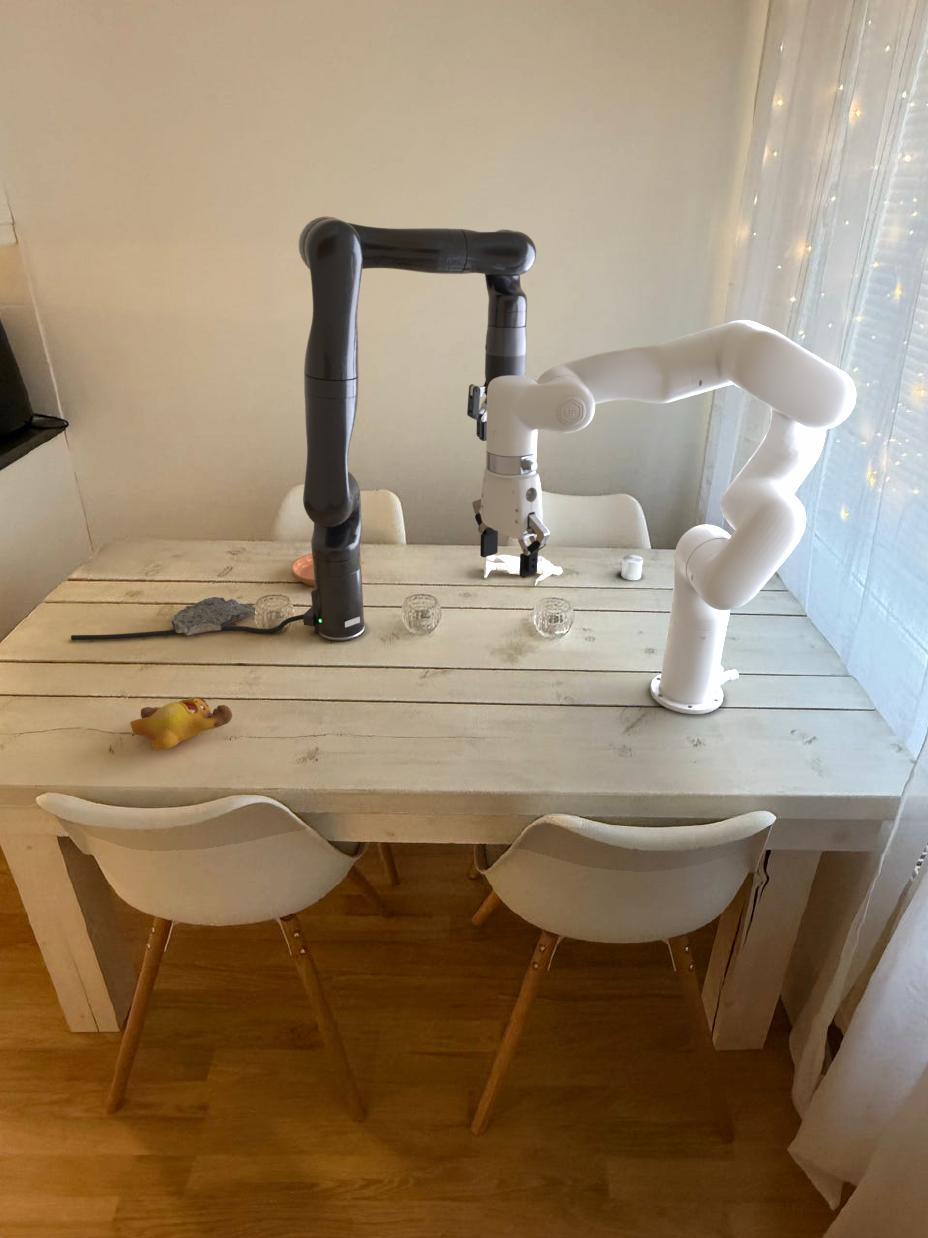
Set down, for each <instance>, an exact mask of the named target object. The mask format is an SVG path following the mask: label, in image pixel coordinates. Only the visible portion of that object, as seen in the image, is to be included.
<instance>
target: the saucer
mask: <svg viewBox="0 0 928 1238" xmlns="http://www.w3.org/2000/svg"><path fill="white" fill-rule="evenodd" d="M361 566H362V563H361ZM290 572H291V575H292V576H293V577H294V578H295V579H297V580H298V581H299V582H301V583H302V584H304V585H306V586H308V587H312V588H313V587H314V588H315V582H314V570H313V559H312V552H311V553H308V554H305V555H302V556H300V557H298V558H296V559H294V561H293V562H292V563H291V565H290Z"/></svg>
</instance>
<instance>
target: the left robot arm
mask: <svg viewBox="0 0 928 1238" xmlns="http://www.w3.org/2000/svg"><path fill="white" fill-rule="evenodd" d="M298 252H299V255H300V258H301V260H302V262H303V264H304V265H305V266H306V267H307V268H308V270H309V273H310V281H311V295H312V318H311V325H310V330H309V334H308V338H307V343H306V349H305V355H304V363H303V374H304V376H303V381H304V382H303V385H304V386H303V389H304V391H303V392H304V411H305V412H304V415H305V418H304V419H305V436H306V465H305V478H304V486H303V494H302V495H303V496H302V504H303V508H304V511H305V513H306V515H307V517H308V518H309V519H310V521H311V522H312V523H313V531H312V535H311V541H310V546H311V547H310V548H311V553H312V559H313V570H314V582H315V587H314V588H313V589H312V590H311V591H310V597H311V606H310V608H308V610H307V611H305V612H304V613H302V614H297V615H293V616H291V617H288V618H285V619H284V620H283V621H281V622H280V623H279V624H278V625H277V626H275V627H271V628H258V627H251V626H245V625H227V626H224V627H223V628H222V629H221V630H218V631H207V632H206V633H215V632H245V633H246V632H247V633H253V634H262V635H263V634H264V635H267V634H269V635H270V634H274V633H278V632H280V631H282V630H283V628H284V627H286V625H288V624H291V623H294V622H297V621H302V622H303V626H306V627H311V628H313V629H314V634H315V635H318V636H320V637H321V638H323V639H325V640H328V641H331V642H332V641H333V642H345V641H346V642H347V641H351V640H355V639H358V638H359V637H360V636H362V635H363V634H364V633H365V631H366V623H365V613H364V612H365V610H364V594H363V593H364V592H363V575H362V574H363V573H362V565H361V564H362V560H361V537H362V500H361V497H362V496H361V490H360V486H359V482H358V481H357V479H356V477H355V476H354V475H353V474H352V473H351V472H350V471H349V452H350V445H351V441H352V436H353V430H354V426H355V421H356V416H357V409H358V402H359V375H360V374H359V331H358V311H359V300H360V299H359V298H360V291H361V290H360V289H361V282H362V274H363V270H365V269H389V270H401V271H408V272H415V273H424V274H425V273H426V274H436V275H437V274H438V275H466V274H481V275H484V279H485V285H486V291H487V298H488V301H487V302H488V304H487V326H486V327H487V329H486V334H485V345H484V349H485V354H484V355H485V356H484V357H485V358H484V377H485V381H484V384H483V385H475V384H472V383H471V384H470V385H468V393H467V394H468V397H467V410H466V414H467V416H468V417H469V418H471V419H473V420H476V436H477V437H478V440H480V441H482V442H487V390H488V385H489V383H490V382H491V381H492V380H493V379H494V378H497V377H501V376H511V375H515V376H525V377H526V368H527V349H528V333H527V320H528V319H527V318H528V297H527V294H526V293H525V292H524V290H523V288H522V287H521V276H522V275H524V274H526V273H527V272H528V271H529V270H531V269H532V267H533V266H534V264H535V263H536V258H537V248H536V244H535V242H534V241H533V240H532V238H531V237H530V236H529V234H526V233H525V232H522V231H520V230H519V231H518V230H512V229H498V230H496V231H478V230H477V231H476V230H472V229H467V228H440V227H439V228H438V227H437V228H434V227H433V228H432V227H431V228H427V227H424V228H392V227H391V228H390V227H389V228H388V227H376V226H369V225H368V226H367V225H361V224H356V223H352V222H347V221H344V220H341V219H340V218H337V217H334V216H321V217H320V216H319V217H317V218H314V219H312V220H310V221H309V222H308V223H307V224H305V226H304V227H303V229H302V230H301V232H300V234H299V239H298ZM534 380H535V379H534ZM535 381H536V382H537V380H535ZM483 393H484V395H485V398H484V399H483V401H482V402H481V404H480V401H481V400H480V399H481V398H482V397H483ZM174 635H184V634H183V633H177V632H175V629H165V630H155V631H142V632H130V633H129V632H127V633H112V634H111V633H110V634H72V635H70V640H71V641H102V640H103V641H104V640H105V641H107V640H126V639H138V638H140V639H141V638H151V637H162V636H174Z"/></svg>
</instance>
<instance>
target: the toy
mask: <svg viewBox="0 0 928 1238" xmlns="http://www.w3.org/2000/svg"><path fill="white" fill-rule="evenodd" d="M140 717H141V718H139V719H134V720H131V721H130V722H129V724H130V728H131V731H132V732H133V734H136V735H138V736H144V737H146V738H147V739H149V740H150V741H151V742H152V743H151V746H152V749H153V750H154V751H166V750H170V749H172V748H174V747H176V746H177V745H178V744H180V743H181V742H183V741H184V742H185V741H186V740H190V739H192V738H194V737H196V736H198V735H199V734H200V733H202V732H204V731H210V730H214V729H217V728H220V727H222V726H224V725H227V724H228V723H230V722H231V720H232V718H233V712H232V710H231V708H230V706H227V705H225V704H219V705H217V706H216V708H214V709H213V711H212V712H211V707H210V706H209V704H208V703H207V701H206V700H205V699H203V698H201V697H196V698H195V697H188V698H186V699H181V700H179V701H175V702H171V703H167V704H165V705H163V706H160V707H159V706H158V707H155V706H154V707H151V706H145V707H142V708H141V709H140Z"/></svg>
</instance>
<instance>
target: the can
mask: <svg viewBox="0 0 928 1238" xmlns="http://www.w3.org/2000/svg"><path fill="white" fill-rule="evenodd" d="M622 557H623V558H622V563H621V574H620V575H621V578H623V579H624V580H627V581H637V580H638V581H639V580H640V579H641V577H642V572H643V563H644V558H643V557H641V556H640V555H636V554H628V555H624V556H622Z"/></svg>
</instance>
